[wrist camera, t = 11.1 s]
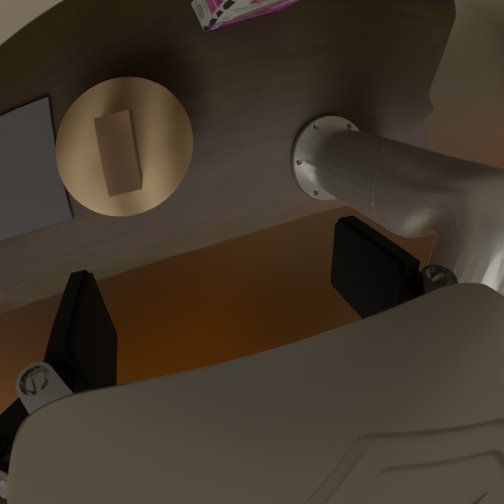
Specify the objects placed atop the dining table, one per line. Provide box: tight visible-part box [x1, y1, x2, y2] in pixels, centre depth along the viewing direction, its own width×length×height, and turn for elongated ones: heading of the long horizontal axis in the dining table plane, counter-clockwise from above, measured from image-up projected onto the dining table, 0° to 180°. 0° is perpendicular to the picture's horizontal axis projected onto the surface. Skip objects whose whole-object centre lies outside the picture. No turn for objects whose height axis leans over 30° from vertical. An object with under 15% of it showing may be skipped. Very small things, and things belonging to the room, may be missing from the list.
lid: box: [55, 77, 193, 216], centre depth 24 cm, size 14×14×5 cm
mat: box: [0, 97, 74, 241], centre depth 27 cm, size 16×16×1 cm
